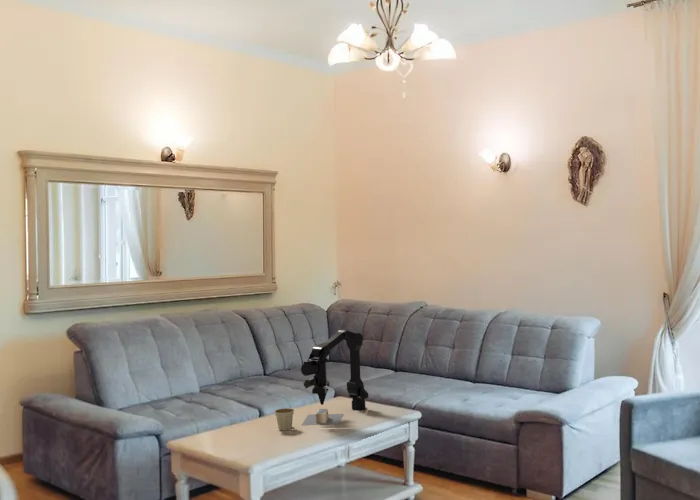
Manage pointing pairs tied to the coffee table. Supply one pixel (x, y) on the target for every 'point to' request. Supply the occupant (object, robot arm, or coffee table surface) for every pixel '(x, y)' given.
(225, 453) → the coffee table surface
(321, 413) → the birch block
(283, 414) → the flower pot
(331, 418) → the mat
